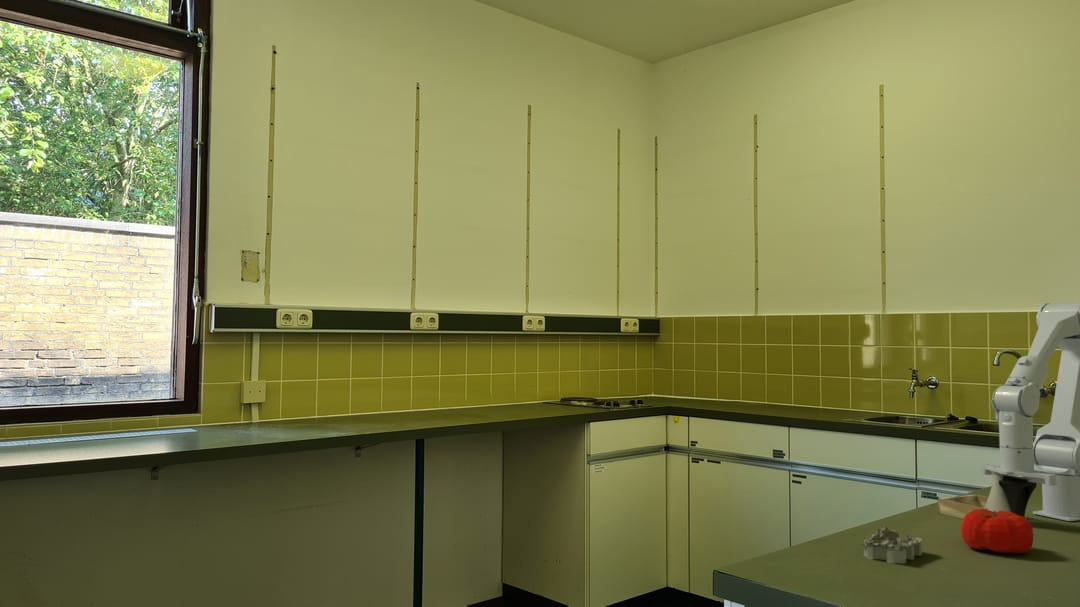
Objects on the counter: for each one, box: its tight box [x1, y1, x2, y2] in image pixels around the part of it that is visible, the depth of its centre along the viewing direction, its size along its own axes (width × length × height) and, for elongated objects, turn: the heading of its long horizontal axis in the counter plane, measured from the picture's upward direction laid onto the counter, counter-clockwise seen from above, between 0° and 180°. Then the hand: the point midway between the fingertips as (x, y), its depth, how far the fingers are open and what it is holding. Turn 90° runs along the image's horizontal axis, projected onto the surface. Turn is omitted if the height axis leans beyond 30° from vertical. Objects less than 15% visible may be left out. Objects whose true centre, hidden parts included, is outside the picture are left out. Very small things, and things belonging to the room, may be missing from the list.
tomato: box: [960, 509, 1035, 555], centre depth 138 cm, size 10×11×6 cm
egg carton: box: [860, 525, 924, 565], centre depth 135 cm, size 11×8×4 cm
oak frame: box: [937, 494, 1026, 519], centre depth 164 cm, size 11×11×3 cm
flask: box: [985, 471, 1012, 512], centre depth 160 cm, size 7×7×10 cm
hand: (1018, 517), depth 157 cm, fingers closed, pressing on flask
